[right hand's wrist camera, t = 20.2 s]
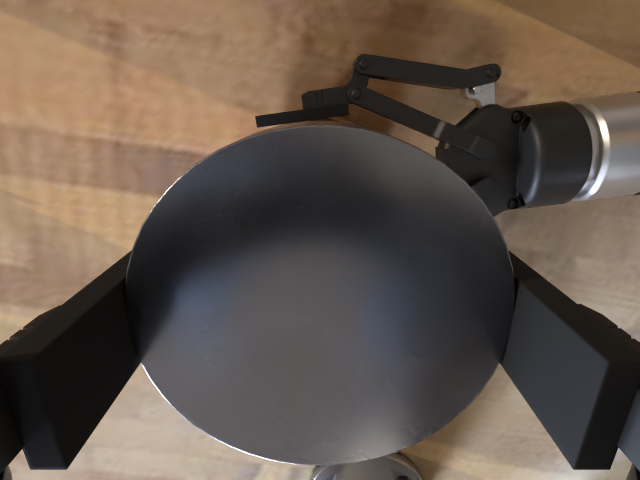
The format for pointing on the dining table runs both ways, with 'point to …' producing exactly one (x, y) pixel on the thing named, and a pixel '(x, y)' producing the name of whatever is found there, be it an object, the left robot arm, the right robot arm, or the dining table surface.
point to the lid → (320, 294)
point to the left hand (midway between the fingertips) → (271, 190)
